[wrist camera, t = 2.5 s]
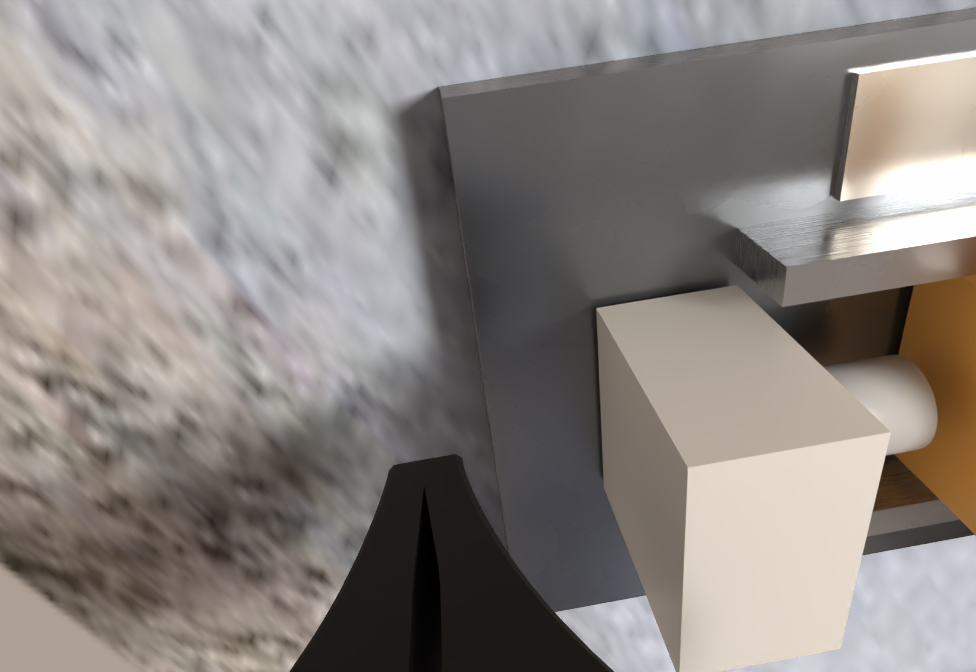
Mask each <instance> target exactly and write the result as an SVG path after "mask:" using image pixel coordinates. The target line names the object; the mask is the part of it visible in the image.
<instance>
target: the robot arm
mask: <svg viewBox="0 0 976 672" xmlns="http://www.w3.org/2000/svg"><path fill="white" fill-rule="evenodd" d="M290 672H614V671H613V670H612V669H611V668H610V667H609V666H607V665H606V664H605V663H604V662H603V661H602V660H601V659H600V658H599V657H598V656H597V655H596V654H594V653H593V652H592V651H591V650H590V649H589V648H588V647H587V646H586V645H585V643H584V642H583V641H582V640H581V639H580V638H579V637H578V636H577V635H576V634H575V633H574V632H573V631H572V630H571V629H570V628H569V627H568V626H567V625H566V624H565V623H564V622H563V621H562V620H561V619H560V618H559V617H558V616H557V614H556V613H555V612H554V611H553V610H552V609H551V607H550V606H549V605H548V604H547V603H546V602H545V601H544V599H543V598H542V597H541V596H540V595H539V593H538V592H537V591H536V590H535V588H534V587H533V586H532V585H531V583H530V582H529V581H528V580H527V578H526V577H525V576H524V574H523V573H522V572H521V570H520V569H519V568H518V566H517V565H516V563H515V562H514V561H513V559H512V558H511V556H510V555H509V553H508V552H507V550H506V549H505V547H504V546H503V544H502V543H501V541H500V540H499V538H498V536H497V535H496V533H495V532H494V530H493V528H492V526H491V525H490V523H489V521H488V520H487V518H486V516H485V514H484V513H483V511H482V509H481V507H480V505H479V503H478V501H477V499H476V497H475V495H474V493H473V491H472V488H471V486H470V484H469V481H468V479H467V476H466V473H465V470H464V466H463V461H462V458H461V457H459V456H458V455H456V454H454V455H449V456H443V457H437V458H432V459H426V460H420V461H414V462H409V463H403V464H397V465H393V467H392V468H391V469H390V470H389V473H388V477H387V481H386V484H385V487H384V491H383V494H382V497H381V500H380V502H379V505H378V508H377V510H376V513H375V516H374V518H373V521H372V523H371V526H370V528H369V530H368V533H367V535H366V537H365V540H364V542H363V544H362V547H361V549H360V551H359V553H358V556H357V558H356V560H355V562H354V564H353V566H352V568H351V570H350V572H349V574H348V576H347V578H346V580H345V582H344V584H343V586H342V588H341V590H340V592H339V593H338V595H337V597H336V599H335V601H334V602H333V604H332V606H331V608H330V610H329V611H328V613H327V615H326V616H325V618H324V620H323V621H322V623H321V625H320V626H319V628H318V630H317V631H316V633H315V634H314V636H313V638H312V639H311V641H310V642H309V644H308V645H307V647H306V648H305V650H304V651H303V653H302V654H301V656H300V657H299V658H298V660H297V661H296V663H295V664H294V666H293V667H292V669H291V670H290Z"/></svg>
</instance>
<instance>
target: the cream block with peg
mask: <svg viewBox="0 0 976 672" xmlns="http://www.w3.org/2000/svg"><path fill="white" fill-rule="evenodd" d="M596 313H597V337H598V360H599V384H600V407H601V431H602V454H603V477H604V489H605V492H606V495H607V497H608V500H609V502H610V505H611V507H612V510H613V512H614V515H615V517H616V520H617V522H618V525H619V528H620V530H621V533H622V535H623V538H624V540H625V543H626V545H627V548H628V550H629V553H630V556H631V558H632V561H633V563H634V566H635V568H636V571H637V573H638V576H639V578H640V581H641V584H642V586H643V589H644V591H645V594H646V596H647V599H648V601H649V604H650V606H651V609H652V612H653V614H654V617H655V619H656V622H657V624H658V627H659V629H660V632H661V634H662V637H663V639H664V642H665V645H666V647H667V650H668V652H669V655H670V657H671V660H672V662H673V665H674V667H675V670H676V672H721V671H726V670H731V669H736V668H742V667H747V666H752V665H757V664H763V663H768V662H773V661H778V660H784V659H789V658H794V657H799V656H805V655H810V654H815V653H820V652H826V651H831V650H836V649H840V648H841V644H842V639H843V635H844V631H845V627H846V622H847V618H848V614H849V610H850V605H851V601H852V597H853V592H854V588H855V584H856V580H857V575H858V571H859V567H860V563H861V558H862V554H863V550H864V546H865V541H866V537H867V533H868V529H869V524H870V520H871V516H872V512H873V507H874V503H875V499H876V494H877V490H878V486H879V482H880V477H881V473H882V469H883V465H884V460H885V456H886V455H891V454H897V453H902V452H908V451H914V450H919V449H922V448H924V447H926V446H927V445H928V444H929V443H930V442H931V441H932V439H933V437H934V435H935V432H936V428H937V421H938V415H937V406H936V401H935V397H934V394H933V391H932V389H931V387H930V385H929V382H928V381H927V379H926V377H925V376H924V374H923V373H922V372H921V370H920V369H919V368H918V367H917V366H916V365H915V364H914V363H913V362H912V361H910V360H909V359H907V358H905V357H903V356H900V355H887V356H881V357H875V358H869V359H863V360H858V361H852V362H846V363H840V364H834V365H828V366H821V365H820V364H819V363H818V362H817V361H816V360H815V359H814V358H813V357H812V356H811V355H810V354H809V353H808V352H807V351H806V350H805V349H804V348H803V347H802V346H801V345H799V344H798V343H797V342H796V341H795V340H794V339H793V338H792V337H791V336H790V335H789V334H788V333H787V332H786V331H785V330H784V329H783V328H782V327H781V326H780V325H779V324H777V323H776V322H775V321H774V320H773V319H772V318H771V317H770V316H769V315H768V314H767V313H766V312H765V311H764V310H763V309H762V308H761V307H760V306H759V305H758V304H757V303H755V302H754V301H753V300H752V299H751V298H750V297H749V296H748V295H747V294H746V293H745V292H744V291H743V290H742V289H741V288H740V287H739V286H738V285H734V286H728V287H722V288H716V289H710V290H704V291H697V292H691V293H685V294H679V295H673V296H667V297H661V298H655V299H649V300H643V301H636V302H630V303H624V304H618V305H612V306H606V307H600V308H596Z"/></svg>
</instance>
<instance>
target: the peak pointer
mask: <svg viewBox="0 0 976 672" xmlns="http://www.w3.org/2000/svg"><path fill="white" fill-rule="evenodd" d="M898 355H900V356H903V357H905V358H907V359H909V360H910V361H912V362H913V363H914V364H915V365H916V366H917V367H918V368H919V369H920V370H921V372H922V373H923V374H924V376H925V377H926V379H927V381H928V382H929V385H930V387H931V389H932V391H933V394H934V397H935V401H936V406H937V415H938V421H937V428H936V432H935V435H934V437H933V439H932V441H931V442H930V443H929V444H928V445H927V446H926V447H924V448H922V449H919V450H914V451H908V452H902V453H897V454H894V455H895V456H896V457H897V458H898V459H899V460H900V461H901V462H902V463H903V464H904V465H905V466H906V467H907V468H908V469H909V470H910V471H911V472H912V473H913V474H914V475H915V476H916V477H918V478H919V479H920V480H921V481H922V482H923V483H924V484H925V485H926V486H927V487H928V488H929V489H930V490H931V491H932V492H933V493H934V494H935V495H936V496H937V497H938V498H939V499H940V500H941V501H942V502H943V503H944V504H945V505H946V506H947V507H948V508H949V509H950V510H951V511H952V512H953V513H954V514H955V515H956V516H957V517H958V518H959V519H960V520H961V521H962V522H963V523H964V524H965V525H966V526H967V527H968V528H969V529H970V530H971V531H972V532H973V533H974V534H975V535H976V275H972V276H966V277H960V278H954V279H948V280H942V281H936V282H930V283H924V284H918V285H914V287H913V292H912V296H911V300H910V305H909V309H908V314H907V318H906V323H905V327H904V332H903V336H902V341H901V345H900V349H899V354H898Z"/></svg>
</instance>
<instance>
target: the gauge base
mask: <svg viewBox="0 0 976 672" xmlns="http://www.w3.org/2000/svg"><path fill="white" fill-rule="evenodd" d="M439 91H440V98H441V105H442V112H443V118H444V125H445V132H446V138H447V145H448V152H449V158H450V165H451V172H452V179H453V185H454V192H455V199H456V205H457V212H458V219H459V226H460V232H461V239H462V246H463V252H464V259H465V266H466V272H467V279H468V286H469V293H470V299H471V306H472V313H473V319H474V326H475V333H476V340H477V346H478V353H479V360H480V366H481V373H482V380H483V386H484V393H485V400H486V407H487V413H488V420H489V427H490V433H491V440H492V447H493V453H494V460H495V467H496V474H497V480H498V487H499V494H500V500H501V507H502V514H503V521H504V527H505V534H506V541H507V547H508V553H509V555H510V556H511V558H512V559H513V561H514V562H515V563H516V565H517V566H518V568H519V569H520V570H521V572H522V573H523V574H524V576H525V577H526V578H527V580H528V581H529V582H530V583H531V585H532V586H533V587H534V588H535V590H536V591H537V592H538V593H539V595H540V596H541V597H542V598H543V599H544V601H545V602H546V603H547V604H548V605H549V606H550V607H551V609H552V610H553V611H554V612H557V611H563V610H568V609H574V608H579V607H585V606H590V605H595V604H601V603H606V602H612V601H617V600H623V599H628V598H633V597H639V596H644V595H646V594H645V591H644V589H643V586H642V584H641V581H640V578H639V576H638V573H637V571H636V568H635V566H634V563H633V561H632V558H631V556H630V553H629V550H628V548H627V545H626V543H625V540H624V538H623V535H622V533H621V530H620V528H619V525H618V522H617V520H616V517H615V515H614V512H613V510H612V507H611V505H610V502H609V500H608V497H607V495H606V492H605V489H604V477H603V454H602V431H601V407H600V384H599V360H598V337H597V313H596V308H600V307H606V306H612V305H618V304H624V303H630V302H636V301H643V300H649V299H655V298H661V297H667V296H673V295H679V294H685V293H691V292H697V291H704V290H710V289H716V288H722V287H728V286H734V285H738V286H739V287H740V288H741V289H742V290H743V291H744V292H745V293H746V294H747V295H748V296H749V297H750V298H751V299H752V300H753V301H754V302H755V303H757V304H758V305H759V306H760V307H761V308H762V309H763V310H764V311H765V312H766V313H767V314H768V315H769V316H770V317H771V318H772V319H773V320H774V321H775V322H776V323H777V324H779V325H780V326H781V327H782V328H783V329H784V330H785V331H786V332H787V333H788V334H789V335H790V336H791V337H792V338H793V339H794V340H795V341H796V342H797V343H798V344H799V345H801V346H802V347H803V348H804V349H805V350H806V351H807V352H808V353H809V354H810V355H811V356H812V357H813V358H814V359H815V360H816V361H817V362H818V363H819V364H820V365H821V366H828V365H834V364H840V363H846V362H852V361H858V360H863V359H869V358H875V357H881V356H887V355H898V354H899V349H900V345H901V341H902V336H903V332H904V327H905V323H906V318H907V314H908V309H909V305H910V300H911V296H912V292H913V287H914V285H918V284H924V283H930V282H936V281H942V280H948V279H954V278H960V277H966V276H972V275H976V8H970V9H963V10H957V11H950V12H943V13H936V14H929V15H923V16H916V17H909V18H902V19H896V20H889V21H882V22H875V23H868V24H862V25H855V26H848V27H841V28H835V29H828V30H821V31H814V32H807V33H801V34H794V35H787V36H780V37H774V38H767V39H760V40H753V41H746V42H740V43H733V44H726V45H719V46H713V47H706V48H699V49H692V50H685V51H679V52H672V53H665V54H658V55H652V56H645V57H638V58H631V59H624V60H618V61H611V62H604V63H597V64H591V65H584V66H577V67H570V68H563V69H557V70H550V71H543V72H536V73H530V74H523V75H516V76H509V77H502V78H496V79H489V80H482V81H475V82H469V83H462V84H455V85H448V86H441V87H439ZM970 535H975V534H974V533H973V532H972V531H971V530H970V529H969V528H968V527H967V526H966V525H965V524H964V523H963V522H962V521H961V520H960V519H959V518H958V517H957V516H956V515H955V514H954V513H953V512H952V511H951V510H950V509H949V508H948V507H947V506H946V505H945V504H944V503H943V502H942V501H941V500H940V499H939V498H938V497H937V496H936V495H935V494H934V493H933V492H932V491H931V490H930V489H929V488H928V487H927V486H926V485H925V484H924V483H923V482H922V481H921V480H920V479H919V478H918V477H916V476H915V475H914V474H913V473H912V472H911V471H910V470H909V469H908V468H907V467H906V466H905V465H904V464H903V463H902V462H901V461H900V460H899V459H898V458H897V457H896V456H895V455H894V454H891V455H886V456H885V460H884V465H883V469H882V473H881V477H880V482H879V486H878V490H877V494H876V499H875V503H874V507H873V512H872V516H871V520H870V524H869V529H868V533H867V537H866V541H865V546H864V550H863V554H862V555H867V554H872V553H878V552H883V551H889V550H894V549H900V548H905V547H910V546H916V545H921V544H927V543H932V542H938V541H943V540H948V539H954V538H959V537H965V536H970Z"/></svg>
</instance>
